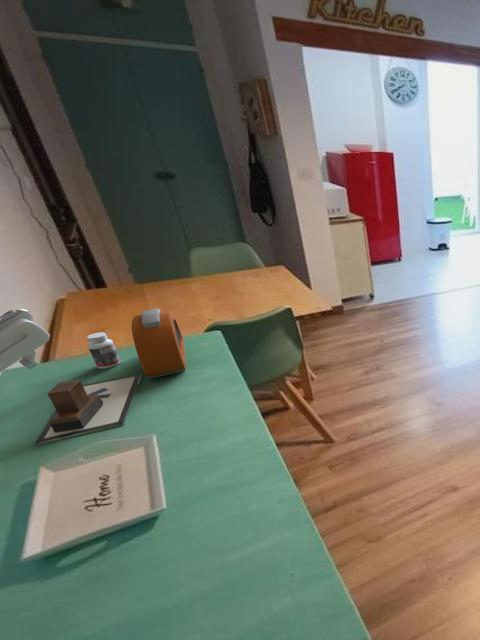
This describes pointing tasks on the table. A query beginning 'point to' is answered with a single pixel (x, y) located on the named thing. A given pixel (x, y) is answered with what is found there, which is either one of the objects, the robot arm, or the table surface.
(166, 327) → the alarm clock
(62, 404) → the eraser
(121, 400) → the whiteboard
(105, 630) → the table surface
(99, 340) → the pill bottle
